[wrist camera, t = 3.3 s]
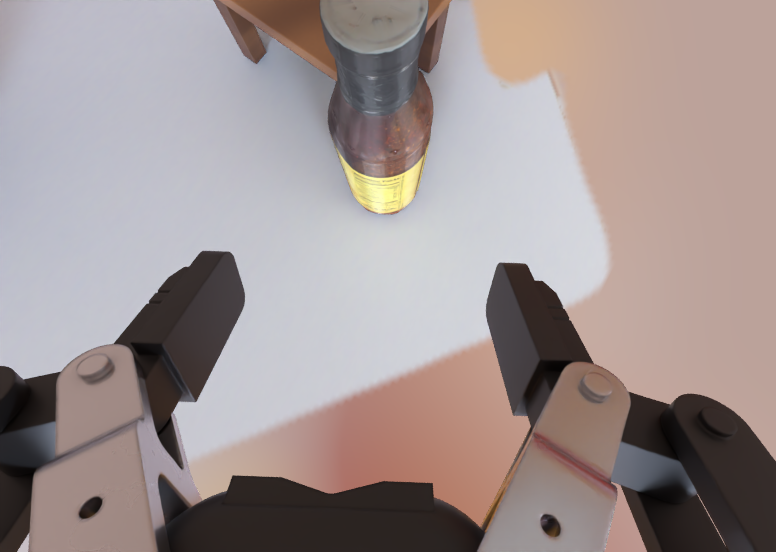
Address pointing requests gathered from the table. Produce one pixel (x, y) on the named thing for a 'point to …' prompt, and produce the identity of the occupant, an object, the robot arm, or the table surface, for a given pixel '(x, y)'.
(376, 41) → the sauce bottle
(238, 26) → the small brown wooden table
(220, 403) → the table surface
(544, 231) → the table surface
